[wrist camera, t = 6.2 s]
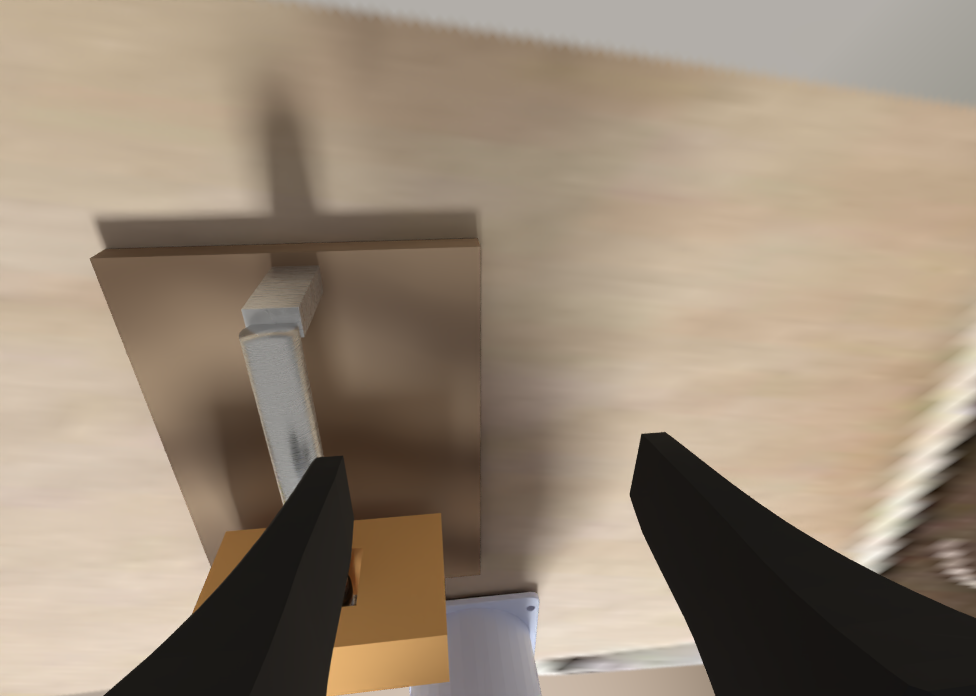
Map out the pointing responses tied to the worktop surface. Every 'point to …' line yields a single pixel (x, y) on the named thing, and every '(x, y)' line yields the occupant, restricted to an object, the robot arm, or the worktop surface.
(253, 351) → the metal rod
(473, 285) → the walnut board
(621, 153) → the worktop surface
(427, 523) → the collar
